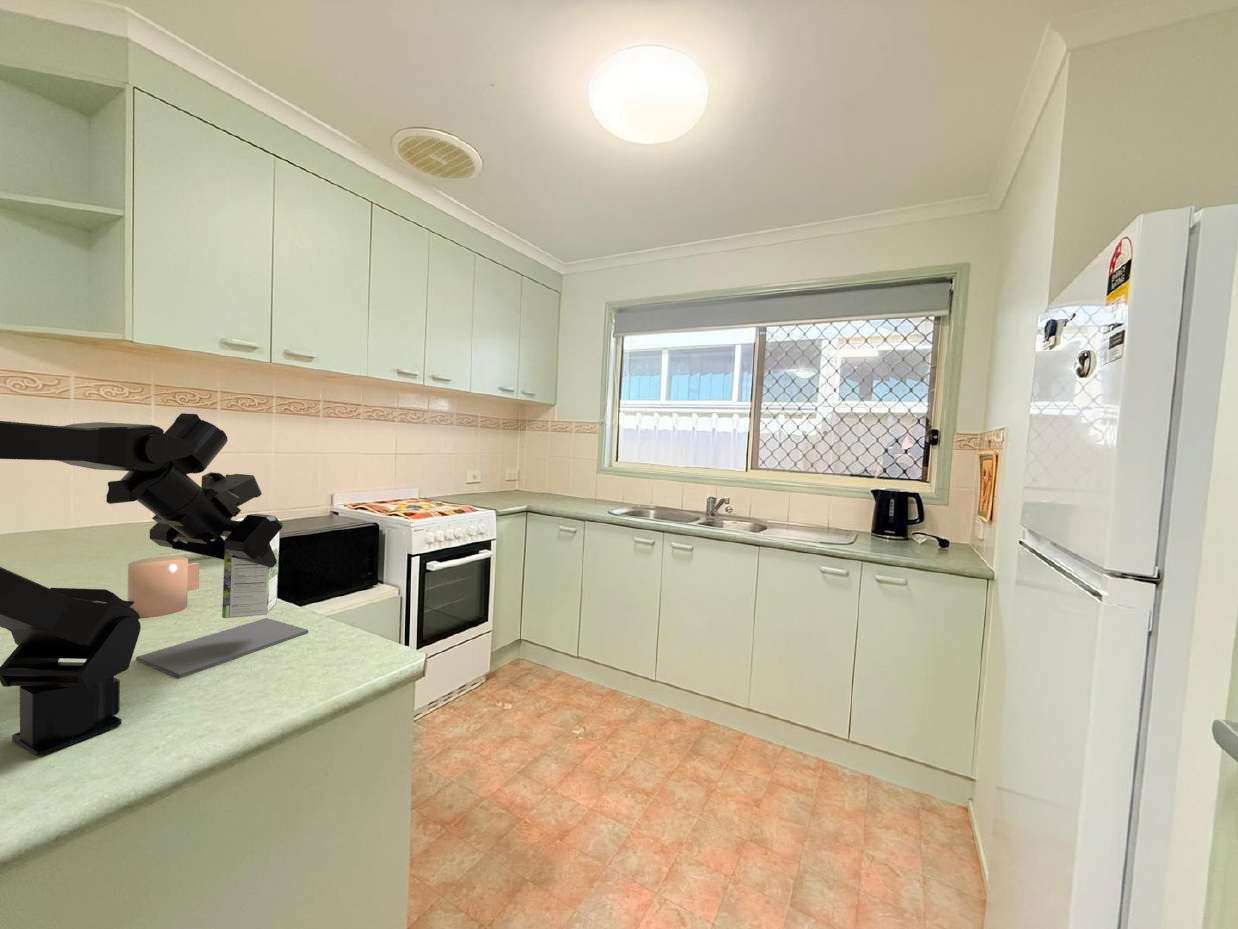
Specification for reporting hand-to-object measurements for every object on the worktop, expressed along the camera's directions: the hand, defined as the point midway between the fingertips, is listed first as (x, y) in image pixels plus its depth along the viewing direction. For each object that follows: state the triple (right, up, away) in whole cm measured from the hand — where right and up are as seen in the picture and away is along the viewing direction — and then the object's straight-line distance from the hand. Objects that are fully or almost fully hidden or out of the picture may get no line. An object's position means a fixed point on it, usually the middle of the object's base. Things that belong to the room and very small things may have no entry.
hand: (254, 562), depth 76 cm
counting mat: (-4, -13, 0) cm, 14 cm away
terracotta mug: (-27, -11, +13) cm, 32 cm away
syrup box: (0, -8, 0) cm, 8 cm away
